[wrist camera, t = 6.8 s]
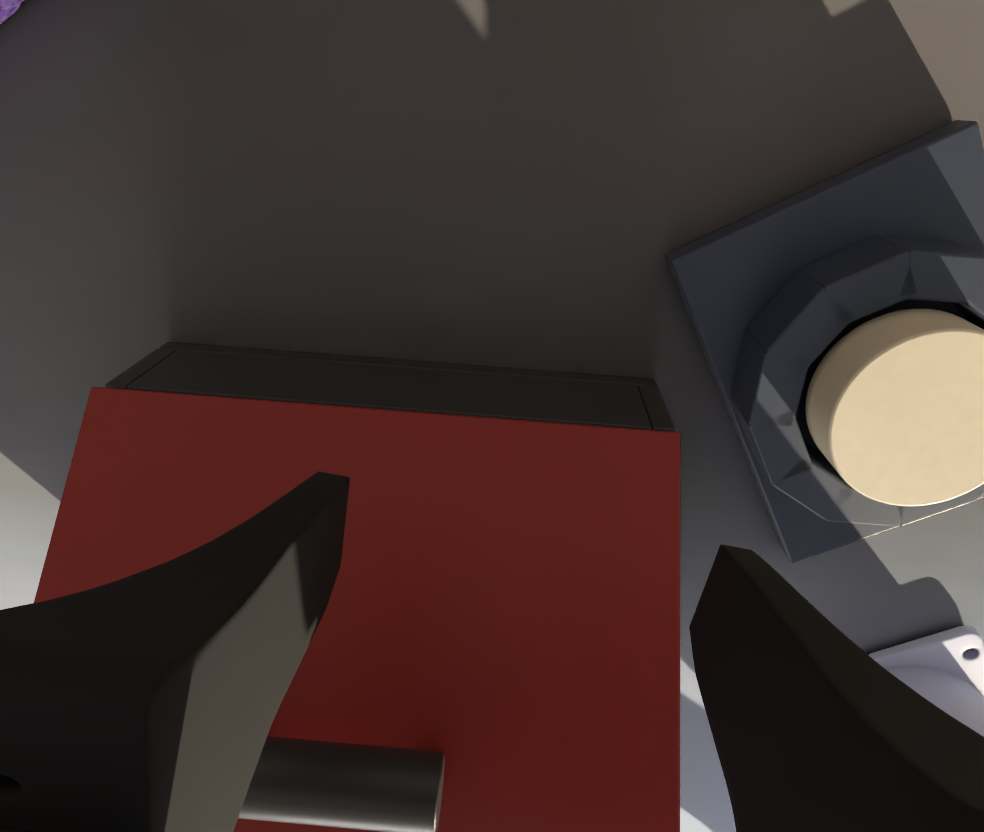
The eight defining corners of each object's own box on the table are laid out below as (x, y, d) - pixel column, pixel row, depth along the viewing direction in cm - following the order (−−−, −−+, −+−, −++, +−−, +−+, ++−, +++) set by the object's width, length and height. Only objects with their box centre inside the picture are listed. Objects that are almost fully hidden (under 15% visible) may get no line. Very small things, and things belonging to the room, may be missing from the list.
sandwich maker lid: (673, 985, 15) (730, 1094, 11) (-34, 917, 15) (-197, 1002, 12) (675, 438, 19) (719, 388, 15) (102, 393, 19) (10, 334, 15)
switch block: (1033, 458, 22) (1102, 510, 20) (781, 546, 24) (812, 604, 21) (956, 118, 18) (1029, 123, 16) (663, 253, 20) (684, 279, 18)
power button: (1011, 434, 19) (1053, 465, 18) (832, 498, 20) (857, 533, 19) (973, 275, 18) (1017, 294, 16) (781, 354, 19) (804, 379, 17)
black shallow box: (607, 657, 27) (617, 736, 23) (205, 622, 27) (160, 696, 24) (654, 378, 22) (676, 429, 19) (166, 341, 22) (104, 384, 19)
